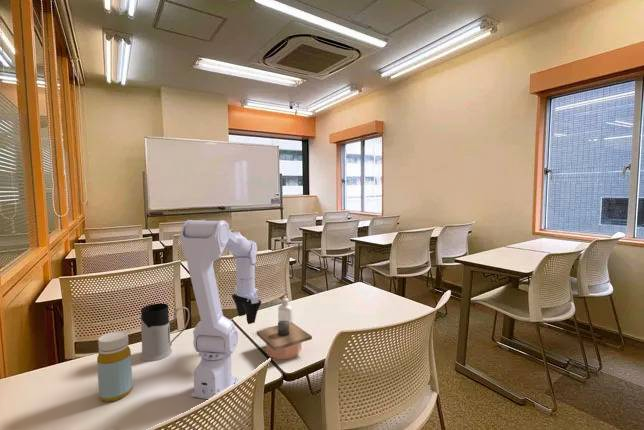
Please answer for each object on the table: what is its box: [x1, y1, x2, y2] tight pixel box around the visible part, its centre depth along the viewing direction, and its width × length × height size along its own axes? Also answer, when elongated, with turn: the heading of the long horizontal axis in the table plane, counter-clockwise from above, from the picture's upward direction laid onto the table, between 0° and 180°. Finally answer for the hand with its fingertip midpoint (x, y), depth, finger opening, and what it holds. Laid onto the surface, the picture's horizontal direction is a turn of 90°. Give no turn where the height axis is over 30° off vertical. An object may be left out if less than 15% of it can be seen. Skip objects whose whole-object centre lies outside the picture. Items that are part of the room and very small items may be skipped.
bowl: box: [265, 342, 302, 360], centre depth 101 cm, size 10×10×4 cm
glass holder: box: [140, 302, 190, 362], centre depth 100 cm, size 9×14×15 cm, turn 118°
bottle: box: [96, 330, 133, 403], centre depth 79 cm, size 7×7×15 cm
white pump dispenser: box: [277, 295, 294, 323], centre depth 119 cm, size 4×6×12 cm
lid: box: [256, 321, 313, 351], centre depth 101 cm, size 13×13×5 cm
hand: (246, 319), depth 102 cm, fingers open, 7 cm apart
